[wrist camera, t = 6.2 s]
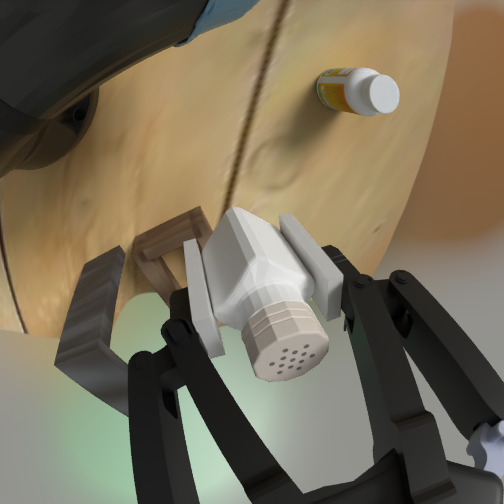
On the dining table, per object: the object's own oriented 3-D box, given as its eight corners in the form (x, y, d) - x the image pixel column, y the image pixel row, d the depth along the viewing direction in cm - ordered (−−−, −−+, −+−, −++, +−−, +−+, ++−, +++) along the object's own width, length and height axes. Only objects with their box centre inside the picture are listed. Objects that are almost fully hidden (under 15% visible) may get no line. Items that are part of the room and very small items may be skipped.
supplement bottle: (344, 116, 31) (394, 130, 23) (309, 98, 29) (355, 105, 21) (357, 81, 29) (410, 86, 21) (324, 61, 27) (374, 57, 19)
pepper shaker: (247, 273, 20) (296, 390, 12) (196, 252, 18) (222, 382, 10) (281, 227, 18) (357, 334, 10) (229, 199, 16) (285, 312, 9)
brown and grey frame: (85, 263, 33) (53, 365, 19) (200, 205, 33) (223, 298, 19) (139, 328, 41) (139, 423, 27) (240, 286, 41) (275, 381, 28)
